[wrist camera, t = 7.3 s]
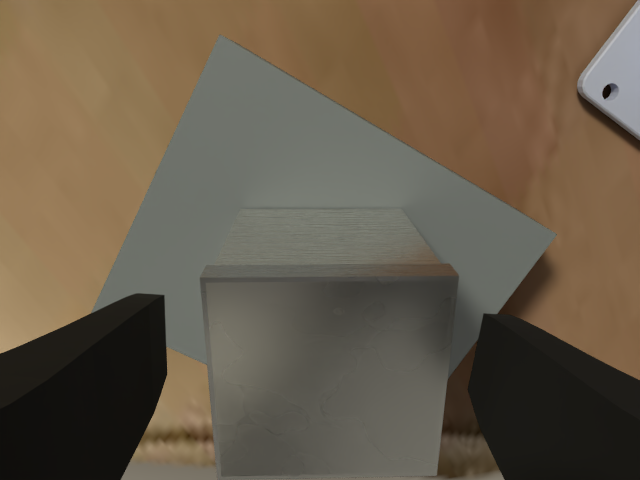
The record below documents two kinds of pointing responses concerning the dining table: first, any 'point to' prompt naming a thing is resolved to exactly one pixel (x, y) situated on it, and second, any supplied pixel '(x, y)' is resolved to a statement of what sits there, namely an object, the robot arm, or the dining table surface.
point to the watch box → (304, 195)
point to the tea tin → (327, 345)
